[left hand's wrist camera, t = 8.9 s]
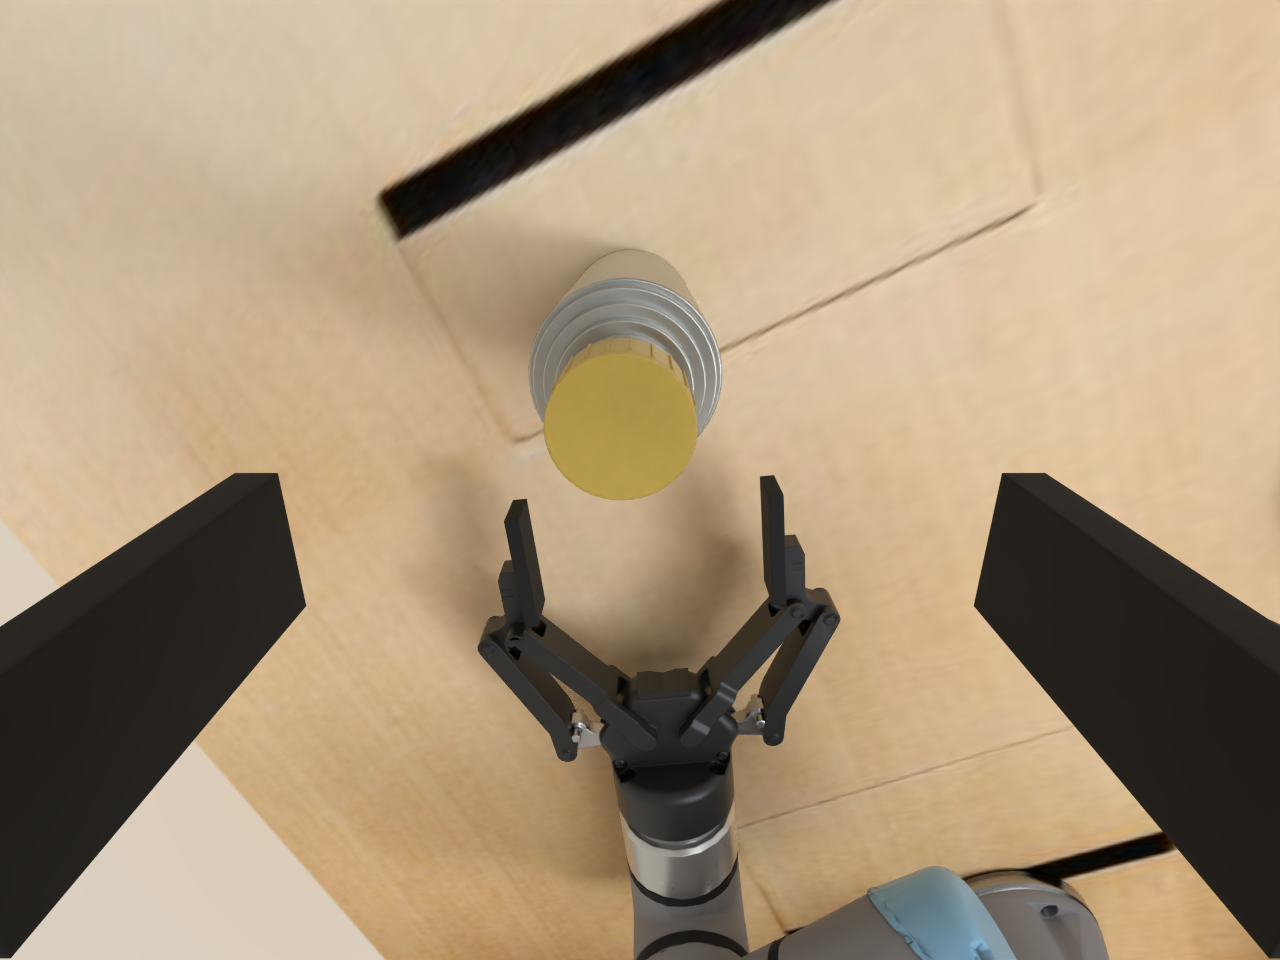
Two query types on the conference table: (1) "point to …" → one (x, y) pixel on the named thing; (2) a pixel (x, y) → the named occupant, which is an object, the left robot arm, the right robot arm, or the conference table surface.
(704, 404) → the bottle
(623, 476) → the cap
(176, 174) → the conference table surface
